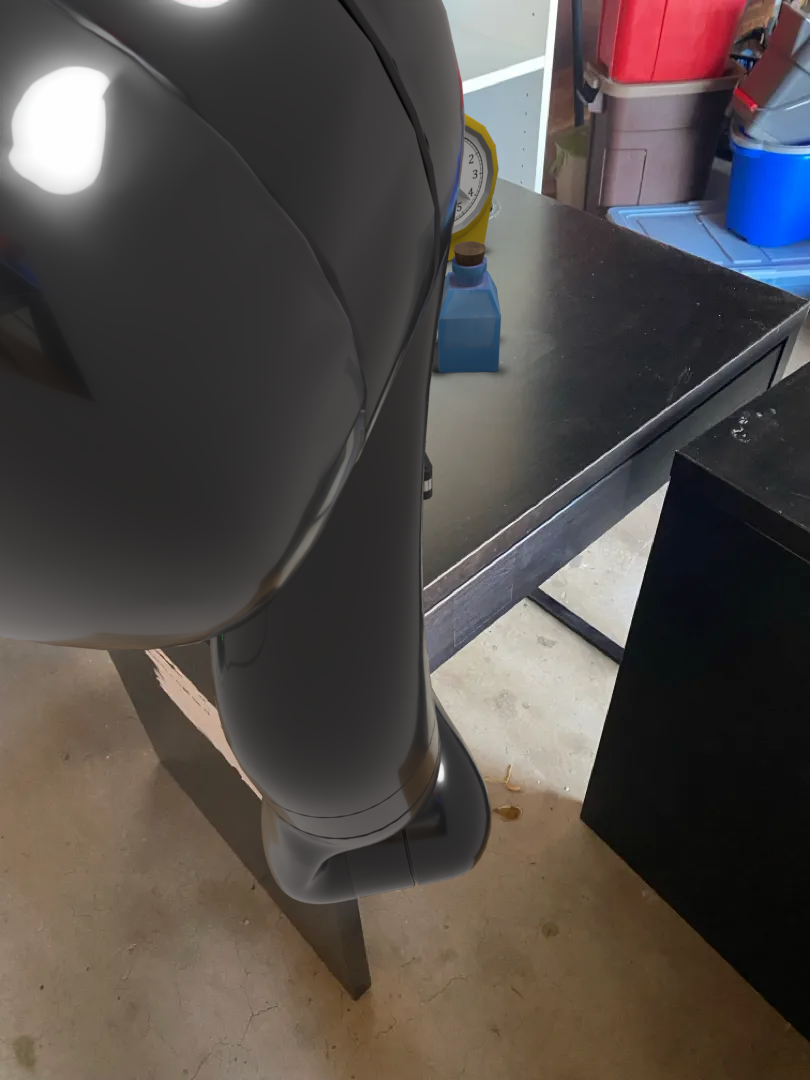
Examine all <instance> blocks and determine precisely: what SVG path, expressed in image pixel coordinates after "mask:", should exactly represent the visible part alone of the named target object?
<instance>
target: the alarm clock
mask: <svg viewBox="0 0 810 1080" xmlns="http://www.w3.org/2000/svg"><path fill="white" fill-rule="evenodd" d="M496 145H497V144H496V143H495V142H494V140H493V138H492V136H491V134H490V133H489V131H488V129H487V127H486V126H485V125H484V124H482V123H481V122H479V121H478V120H476V119H475V118H473V117H472V116H470V115H468V114H466V113H465V135H464V156H463V164H462V173H461V182H460V190H459V196H458V201H457V208H456V214H455V220H454V226H453V231H452V237H451V244H450V250H449V257H448V262H449V261H452V259H453V257H454V256H455V253H454V246H455V245H456V244H458V243H461V242H466V241H474V242H479V243H482V244H484V245H485V242H486V237H487V231H488V225H489V220H490V214H491V208H492V203H493V197H494V195H495V189H496V184H497V180H498V175H499V170H500V167H499V160H498V154H497V146H496Z"/></svg>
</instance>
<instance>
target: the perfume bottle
mask: <svg viewBox="0 0 810 1080" xmlns="http://www.w3.org/2000/svg"><path fill="white" fill-rule="evenodd" d="M486 249H487V246H486V245H485V243H484V244H482V243H479V242H474V241H466V242H461V243H458V244H456V245H455V246H454V253H455V256H454V257H453V259H452V260H451V271H448V272H447V273H446V276H445V283H444V290H443V297H442V304H441V311H440V318H439V324H438V331H437V351H438V352H437V353H438V357H437V358H438V373H439V374H443V373H485V372H486V373H487V372H489V373H491V372H493V373H495V372H499V367H500V366H499V364H500V347H501V346H500V345H501V326H502V314H501V306H500V300H499V294H498V288H497V286H496V283H495V282H494V280H493V278H492V276H491V274H490V272H489V271H488V259H487V257H486V256H485V254H486Z"/></svg>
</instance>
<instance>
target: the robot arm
mask: <svg viewBox="0 0 810 1080" xmlns="http://www.w3.org/2000/svg"><path fill="white" fill-rule="evenodd" d="M460 71H461V70H460V65H459V61H458V58H457V52H456V48H455V43H454V40H453V35H452V30H451V26H450V20H449V16H448V11H447V9H446V7H445V4H444V2H443V0H0V638H4V639H10V640H17V641H23V642H29V643H35V644H42V645H48V646H56V647H66V648H75V649H76V648H77V649H86V650H87V649H88V650H95V651H152V650H159V649H161V650H162V649H168V648H177V647H184V646H194V645H198V644H200V643H203V642H206V641H208V640H209V652H210V664H211V665H210V667H211V680H212V688H213V696H214V701H215V707H216V711H217V715H218V717H219V722H220V725H221V729H222V732H223V735H224V738H225V741H226V743H227V745H228V747H229V749H230V750H231V752H232V754H233V756H234V757H235V758H234V759H235V760H236V762H237V764H238V766H239V767H240V769H241V771H242V772H243V773H244V774H245V776H246V778H248V780H249V781H250V783H252V785H253V786H254V788H255V789H256V790H257V791H258V793H259V794H260V796H261V805H260V824H261V825H260V826H261V827H260V829H261V838H262V839H261V840H262V845H263V851H264V856H265V859H266V863H267V866H268V868H269V871H270V873H271V875H272V877H273V879H274V881H275V883H276V884H277V886H278V887H279V888H280V890H281V891H282V892H283V893H284V894H285V895H287V896H288V897H289V898H291V899H293V900H295V901H298V902H300V903H304V904H311V905H331V904H337V903H343V902H347V901H352V900H357V899H358V898H360V899H361V898H366V897H371V896H376V895H381V894H386V893H391V892H395V891H400V890H406V889H410V888H414V887H415V886H416V885H417V886H419V887H421V886H425V885H432V884H437V883H440V882H445V881H449V880H450V881H451V880H453V879H456V878H458V877H461V876H464V875H466V874H467V873H468V872H470V871H472V870H473V869H474V868H475V867H476V865H477V864H478V863H479V862H480V860H481V859H482V857H483V855H484V853H485V851H486V849H487V847H488V843H489V840H490V836H491V832H492V824H493V823H492V821H493V811H492V804H491V798H490V793H489V790H488V786H487V783H486V781H485V779H484V776H483V773H482V771H481V769H480V767H479V765H478V763H477V761H476V759H475V757H474V755H473V753H472V751H471V749H470V748H469V746H468V745H467V743H466V741H465V740H464V738H463V736H462V735H461V733H460V732H459V730H458V728H457V727H456V725H455V724H454V722H453V720H452V719H451V717H450V716H449V714H448V713H447V711H446V710H445V708H444V706H443V705H442V702H441V701H440V699H439V698H438V696H437V694H436V692H435V691H434V688H433V685H432V679H431V678H432V677H431V671H430V661H429V653H428V641H427V640H428V639H427V630H426V617H425V615H426V614H425V593H424V591H425V590H424V557H423V556H424V535H423V534H424V531H423V530H424V501H427V500H430V499H431V498H432V497H433V464H432V462H431V460H430V458H429V457H428V454H427V452H426V449H427V448H426V446H427V434H428V433H427V430H428V418H429V406H430V390H431V384H432V383H431V382H432V374H433V367H434V361H435V360H434V359H435V353H436V345H437V339H438V324H439V318H440V311H441V304H442V297H443V290H444V283H445V277H446V275H447V269H448V262H449V261H448V257H449V250H450V244H451V237H452V231H453V226H454V220H455V214H456V208H457V201H458V196H459V190H460V182H461V173H462V164H463V156H464V135H465V114H466V113H465V102H464V100H465V99H464V88H463V79H462V75H461V72H460Z"/></svg>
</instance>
